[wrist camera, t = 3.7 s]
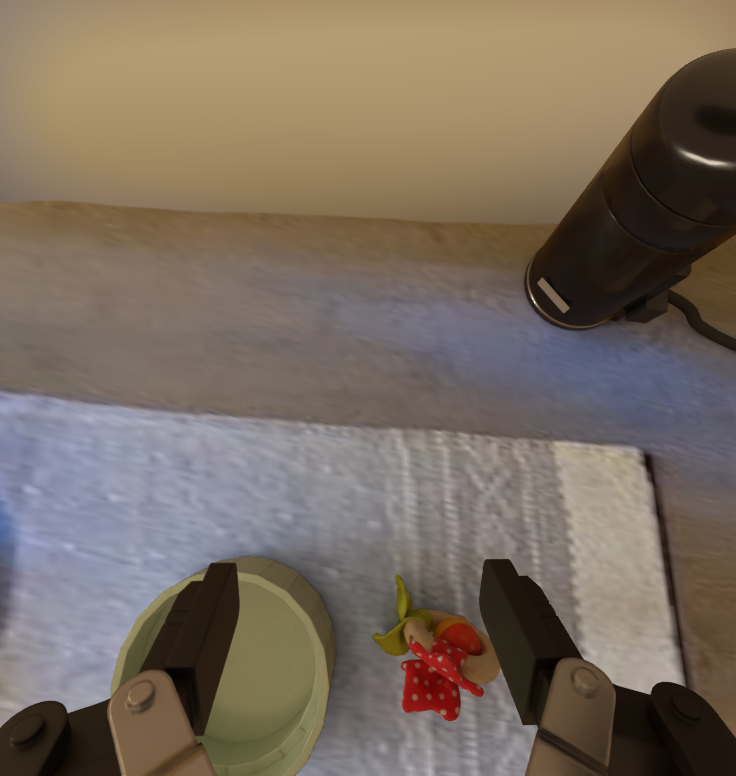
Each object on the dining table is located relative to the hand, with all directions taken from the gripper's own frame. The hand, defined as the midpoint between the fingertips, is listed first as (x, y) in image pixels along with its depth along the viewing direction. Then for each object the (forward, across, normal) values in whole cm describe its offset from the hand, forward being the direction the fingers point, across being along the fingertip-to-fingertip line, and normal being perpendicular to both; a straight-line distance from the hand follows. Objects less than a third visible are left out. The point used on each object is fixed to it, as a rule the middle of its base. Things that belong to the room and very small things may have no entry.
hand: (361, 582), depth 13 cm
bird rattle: (+17, -7, +19) cm, 26 cm away
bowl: (+16, +9, +22) cm, 29 cm away
